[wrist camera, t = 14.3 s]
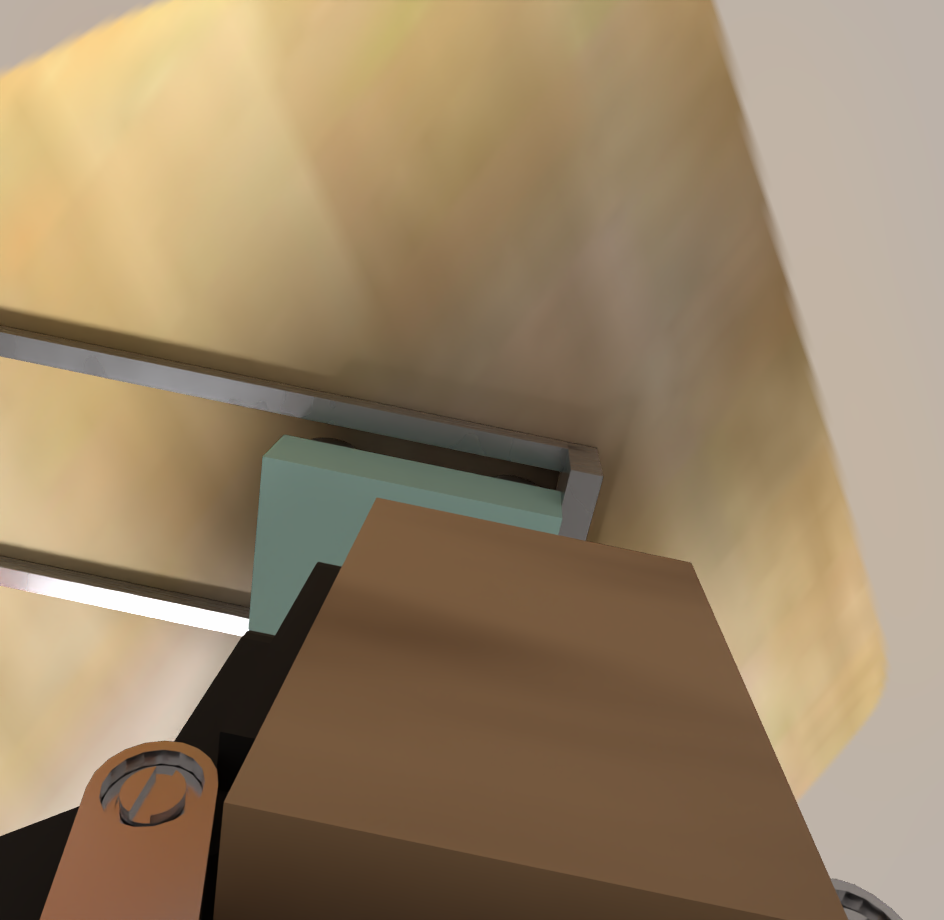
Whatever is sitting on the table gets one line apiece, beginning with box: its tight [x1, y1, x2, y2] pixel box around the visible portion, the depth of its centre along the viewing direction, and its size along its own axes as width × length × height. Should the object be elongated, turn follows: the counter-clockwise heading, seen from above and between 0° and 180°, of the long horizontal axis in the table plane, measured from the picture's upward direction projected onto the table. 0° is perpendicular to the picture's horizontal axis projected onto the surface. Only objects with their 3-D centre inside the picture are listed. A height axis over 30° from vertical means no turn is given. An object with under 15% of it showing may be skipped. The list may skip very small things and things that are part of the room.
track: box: [0, 326, 603, 636], centre depth 30 cm, size 12×26×3 cm, turn 79°
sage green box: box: [248, 435, 562, 635], centre depth 29 cm, size 9×11×4 cm
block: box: [213, 498, 848, 920], centre depth 9 cm, size 5×5×6 cm
